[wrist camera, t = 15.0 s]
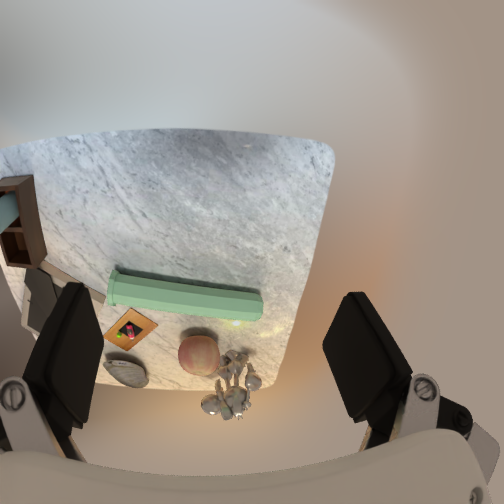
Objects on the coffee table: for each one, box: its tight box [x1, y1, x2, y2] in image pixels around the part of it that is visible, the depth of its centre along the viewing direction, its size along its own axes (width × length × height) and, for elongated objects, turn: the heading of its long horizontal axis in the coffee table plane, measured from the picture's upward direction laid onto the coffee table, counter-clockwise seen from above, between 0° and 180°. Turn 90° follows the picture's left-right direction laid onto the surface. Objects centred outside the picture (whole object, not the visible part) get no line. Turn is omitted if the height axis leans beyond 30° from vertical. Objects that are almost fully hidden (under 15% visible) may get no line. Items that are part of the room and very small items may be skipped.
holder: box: [0, 175, 47, 269], centre depth 30 cm, size 7×14×4 cm, turn 172°
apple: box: [178, 336, 220, 376], centre depth 48 cm, size 8×8×8 cm
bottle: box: [0, 190, 19, 234], centre depth 26 cm, size 4×4×10 cm
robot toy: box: [201, 350, 262, 420], centre depth 50 cm, size 15×6×15 cm, turn 129°
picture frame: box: [21, 260, 106, 336], centre depth 41 cm, size 16×3×21 cm
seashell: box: [103, 360, 149, 388], centre depth 51 cm, size 12×8×5 cm
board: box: [103, 308, 158, 351], centre depth 47 cm, size 6×12×2 cm, turn 131°
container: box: [107, 270, 263, 321], centre depth 42 cm, size 6×6×25 cm
